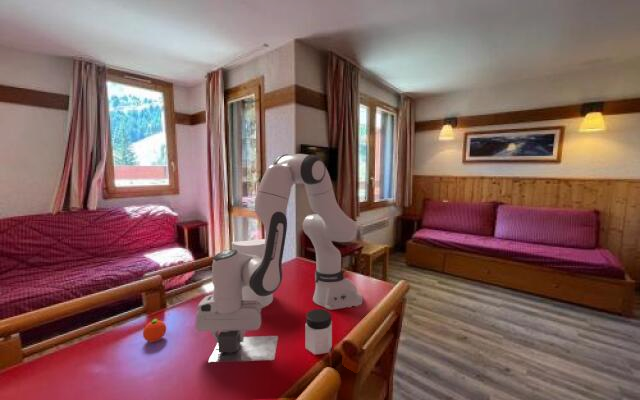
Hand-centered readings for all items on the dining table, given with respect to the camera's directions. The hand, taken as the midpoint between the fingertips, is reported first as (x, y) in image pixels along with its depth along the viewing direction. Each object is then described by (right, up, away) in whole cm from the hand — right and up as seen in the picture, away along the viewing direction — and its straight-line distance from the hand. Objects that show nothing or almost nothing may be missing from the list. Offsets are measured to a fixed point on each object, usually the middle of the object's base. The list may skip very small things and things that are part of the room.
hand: (230, 341), depth 89 cm
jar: (+29, -4, +2) cm, 29 cm away
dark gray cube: (0, -2, 0) cm, 2 cm away
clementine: (-28, -3, +7) cm, 29 cm away
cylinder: (-1, 0, +35) cm, 35 cm away
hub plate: (+5, -4, +1) cm, 6 cm away
